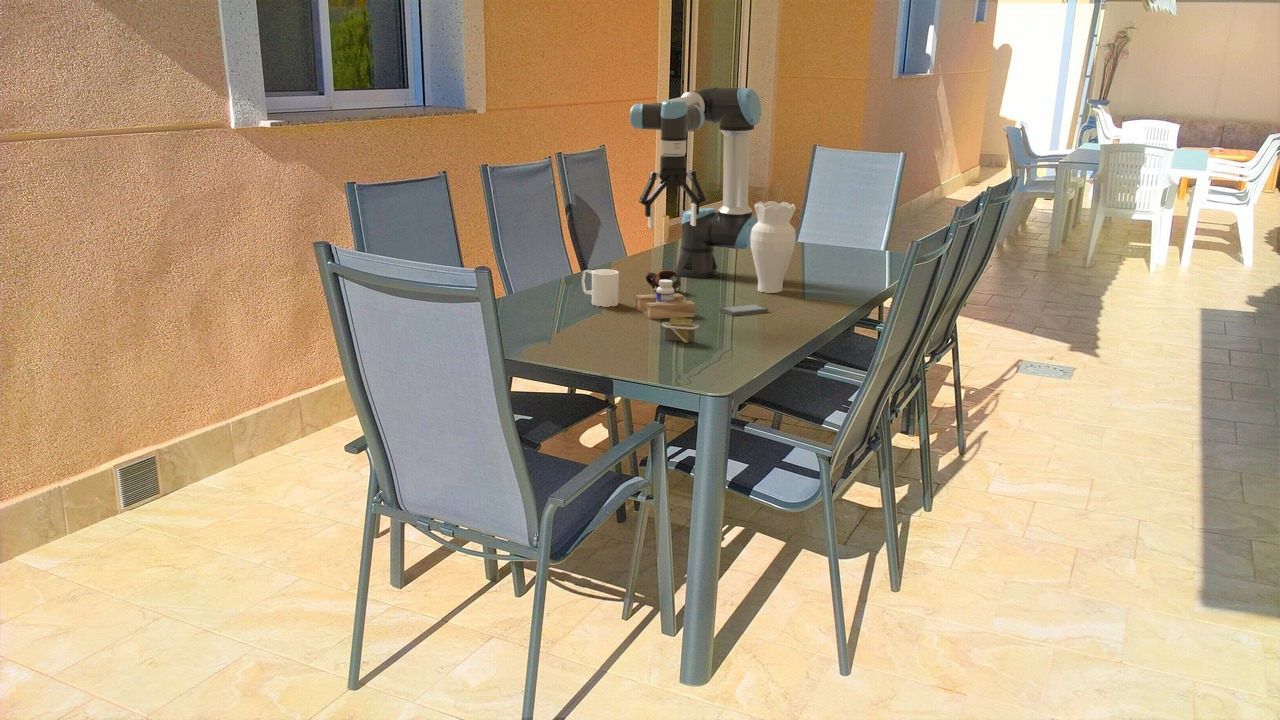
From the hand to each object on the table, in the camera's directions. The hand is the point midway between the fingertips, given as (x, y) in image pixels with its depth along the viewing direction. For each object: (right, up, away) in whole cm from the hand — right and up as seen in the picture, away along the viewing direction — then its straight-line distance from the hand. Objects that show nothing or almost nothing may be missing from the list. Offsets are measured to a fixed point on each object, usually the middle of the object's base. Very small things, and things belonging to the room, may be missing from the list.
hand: (671, 226), depth 304 cm
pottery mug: (-2, -18, +28) cm, 33 cm away
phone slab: (+22, -25, +3) cm, 34 cm away
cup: (-22, -23, +10) cm, 33 cm away
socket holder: (-2, -26, 0) cm, 26 cm away
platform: (+1, -36, -31) cm, 48 cm away
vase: (+34, -17, +32) cm, 49 cm away
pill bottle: (-2, -26, 0) cm, 26 cm away
